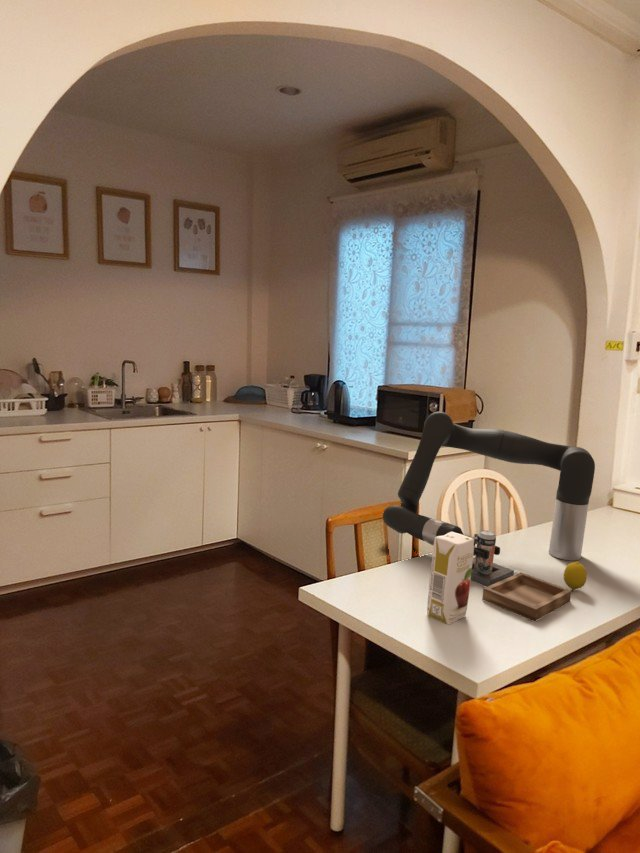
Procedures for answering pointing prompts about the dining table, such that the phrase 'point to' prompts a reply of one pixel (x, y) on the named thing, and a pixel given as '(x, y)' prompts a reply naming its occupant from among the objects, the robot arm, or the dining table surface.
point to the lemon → (575, 575)
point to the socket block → (491, 575)
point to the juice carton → (450, 577)
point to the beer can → (487, 542)
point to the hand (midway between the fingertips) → (493, 553)
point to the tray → (527, 596)
